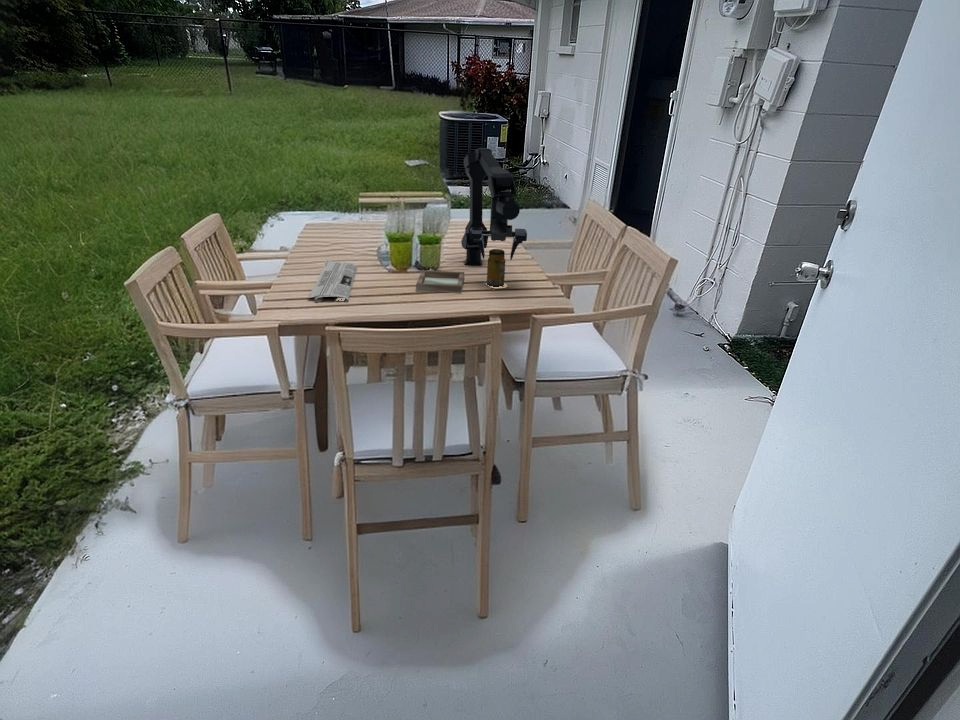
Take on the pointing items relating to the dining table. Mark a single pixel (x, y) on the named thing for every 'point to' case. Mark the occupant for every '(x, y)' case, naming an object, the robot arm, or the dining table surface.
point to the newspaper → (334, 281)
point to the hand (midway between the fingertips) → (497, 259)
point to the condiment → (496, 268)
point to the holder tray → (440, 281)
